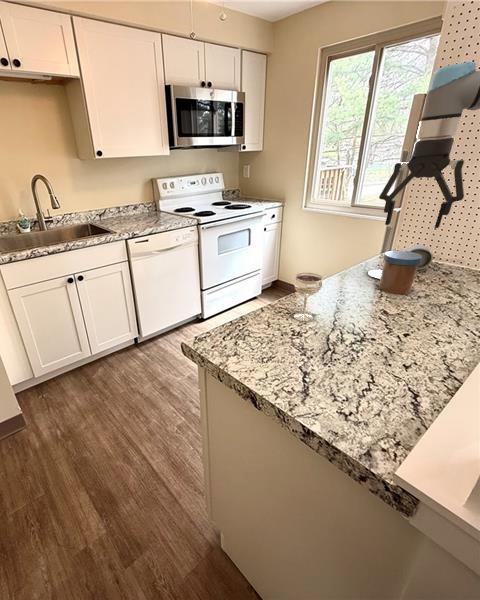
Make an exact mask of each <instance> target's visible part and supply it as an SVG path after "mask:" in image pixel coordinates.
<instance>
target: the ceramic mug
mask: <svg viewBox="0 0 480 600" xmlns="http://www.w3.org/2000/svg"><path fill="white" fill-rule="evenodd" d="M405 251H408V252H414V253H417V254H420V255H422V261H421V263H420V264H418V268H417V271H420V270H423V269H426V268H428V267H429V266H430V265H431V264H432V262H433V260H434V256H433V252H431V249H430V248H429V247H428V246H425V245H423V244H413V245H411V246H409V247H408V248H407V249H406V250H405Z"/></svg>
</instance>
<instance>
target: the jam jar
mask: <svg viewBox="0 0 480 600" xmlns="http://www.w3.org/2000/svg"><path fill="white" fill-rule="evenodd" d="M417 268H418V265H410V266H406V265H396V264H391V263H388V262H386V261H384V262H383V267H382V269H381V270H382V274H381V278H380V280H379V283H378V286H377V287H378V289H379V290H381V291H383V292H386V293H389V294H395V295H404V294H409V293H410V292H411V291H412V288H413V284H414V281H415V277H416V274H417V271H418V270H417Z"/></svg>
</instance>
